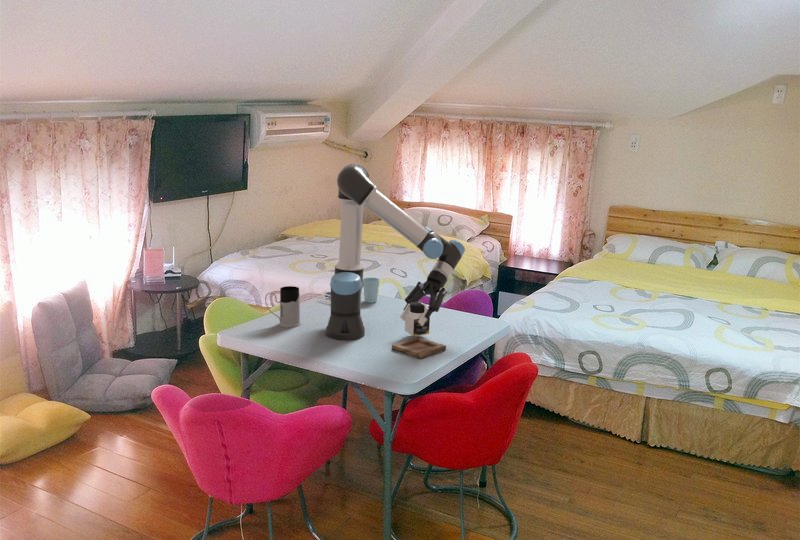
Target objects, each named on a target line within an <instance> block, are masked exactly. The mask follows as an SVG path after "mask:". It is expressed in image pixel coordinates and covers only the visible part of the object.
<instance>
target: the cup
mask: <svg viewBox="0 0 800 540" xmlns="http://www.w3.org/2000/svg"><path fill="white" fill-rule="evenodd" d="M363 281H364V284H363V296H364V297H363V298H364V302H365V303H367V302H369V303H370V304H372V303H373V304H374V302H375V303H377V301H378V296H379V295H378V294H379V286H380V278H377V277H363ZM369 303H368V304H369Z"/></svg>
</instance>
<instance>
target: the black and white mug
mask: <svg viewBox="0 0 800 540" xmlns="http://www.w3.org/2000/svg"><path fill="white" fill-rule="evenodd" d="M279 289H280V290H279V291H280V292H279V295H280V298H279V299H280V300H279V301H278V300H277V295H276V293H275V292H268V293H266V295H265V297H264V300H265V306H266V309H268V311H269V312H270V313H272V315H274V316H275V317H277V319H279V324H278V325H279V326H280V327H281V326H282V327H283V328H288V327H290V328H298V327H300V326H301V325H302V324H301V321H300V320H301V318H300V317H301V313H300V311H301V310H300V308H301V307H300V306H301V305H300V303H301V302H300V299H301V298H300V296H301V295H300V287H299V286H293V285H292V286H291V285H289V286H288V285H287V286H286V285H285V286H281V287H280V288H279ZM270 294H272V295H274V297H275V299H274V300H275V302H276V303H277V304H279V315H277V314H275V312H273V311H272V310H271V309H270V308H269V306H268V303H267V296H268V295H270Z"/></svg>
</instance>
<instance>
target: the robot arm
mask: <svg viewBox="0 0 800 540" xmlns="http://www.w3.org/2000/svg"><path fill="white" fill-rule="evenodd" d="M336 185H337V188H338V195H337V198H338V200H339V201H340V203H341V208H340V209H341V212H340V231H339V233H340V234H339V252H338V253H339V254H338V262H337V263H335V265H334V273H333V275H332V276H331V277H330V283H329V285H330V316H329V319H328V323H327V325H326V327H325V335H326V336H327V337H329V338H331V339H334V340H339V341H340V340H345V341H349V340H356V339H360V338H363V337H364V336H365V334H366V333H365V331H366V329H365V328H366V327H365V325H364V322H363V318H362V315H361V309H362V308H361V306H362V303H361V302H362V297H361V296H362V290H363V289H364V287H363V284H364V281H363V279H364V266H363V265H362V263H361V255H362V254H361V253H362V235H363V218H364V217H363V215H364V207H365V208H366V209H368V210H369V211H370V212H371V213H373V214H374V215H376V217H378V218H379V219H381V220H382V221H383V222H385V223H386V224H387V225H388V226H389V227H390V228H392V229H394V231H395V232H397V233H399V234H400V235H402V237H403V238H405V239H407V241H408V242H410V243H411V244H413V246H415V247H416V248H417V249H419V250H420V251H421V252H422V253H423V254H424V256H425V257H427V258H428V259H431V260H436V259H438V260H437V261H436V262H435V263H434V265H433V267H432V269H431V271H429V273H428V275H427V278H426V281H424V282H421V281H418V282H417V284H416V286H415V287H413V289H412V290H411V292H410V293H409V294H407V296H406V297H405V298H404V302H405V303H406V305H405V306H404V308H403V312H402V313H401V315H400V316H399V317H400V319H401V320H402V321H404V322H405V314H410V304H411V303H413V302H420V300H421V299H422V298H423V297H427V296H430V297H429V303H428V307H426V310H425V311H424V313H423V315H422V316H421V318H420V319H419V321H418V323H419V324H420V325H421V326H423V325H424V323H425V321H426V320H427V319H428V318H429V317H431V315H432V314H433V313H434V312H436V313H438V312H439V310H440V308H441V305H442V303H443V300H444V298H445V296H446V294H447V293H448V291H447V290H446V288H445V285H446V284H447V282H448V280H449V279H450V277H451V276H452V274H453V272H454V270H455V268H456V267H458V266H457V265H458V264H459V262H460V261H461V259H462V257H463V256H464V254H465V251H466V249H465V246H464V244H463V243H462V242H460V241H458V240H456V239H450V240H449V241H447V240H446V239H445V238H444V237H442V236H441V235H439V234H438V233H437V232H435V231H434V230H433V229H431V228H429V227H428V226H425V227H424V226H423V225H421V224H420V223H419V222H418V221H416V219H414V218H412V216H410V215H409V214H408V213H406V211H404V210H402V209H401V208H400V206H399V207H398V205H397V204H395V203H394V202H393V201H391V200H390V199H389V198H388V197H387V196H385V195H384V194H383V193H381V192H380V191H379V190H378V189H377V186H376V184H374V183H373V182H372V181H371V180H370V175H369V172H368V170H367V169H366V168H365V167H364V166H362V165H360V164H356V163H353V164H351V163H350V164H348V165H346V166H344V167H343V168H342V169H341V170H340V172H339V173H338V175H337V179H336Z"/></svg>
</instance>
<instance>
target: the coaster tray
mask: <svg viewBox="0 0 800 540" xmlns="http://www.w3.org/2000/svg"><path fill="white" fill-rule="evenodd" d="M446 349H447V345H445V344H443V343H439V342H435V341H432V340H430V339H429V340H428V339H425V338H423V337H419V336H414V337H412V338H409V339H407V340H403V341H400V342H396V343H393V344H392V345H391V350H393V351H396V352H398V353H402V354H404V355H408V356H410V357H413V358H417V359H419V360H422V359H424V358H427V357H431V356H434V355H436V354H439V353H441V351H442V352H445V351H446ZM444 350H445V351H444Z"/></svg>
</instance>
